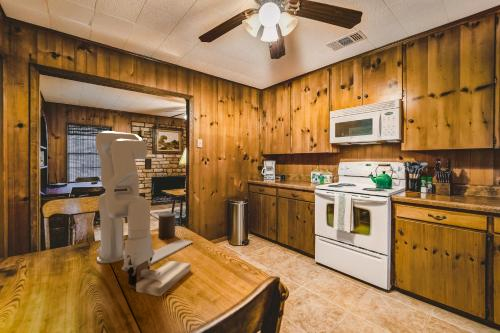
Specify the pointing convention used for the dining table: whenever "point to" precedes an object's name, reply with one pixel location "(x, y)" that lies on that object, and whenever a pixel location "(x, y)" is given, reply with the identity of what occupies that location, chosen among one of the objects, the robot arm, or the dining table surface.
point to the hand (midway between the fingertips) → (139, 279)
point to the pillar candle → (166, 225)
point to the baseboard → (169, 249)
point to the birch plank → (163, 278)
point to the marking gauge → (145, 273)
